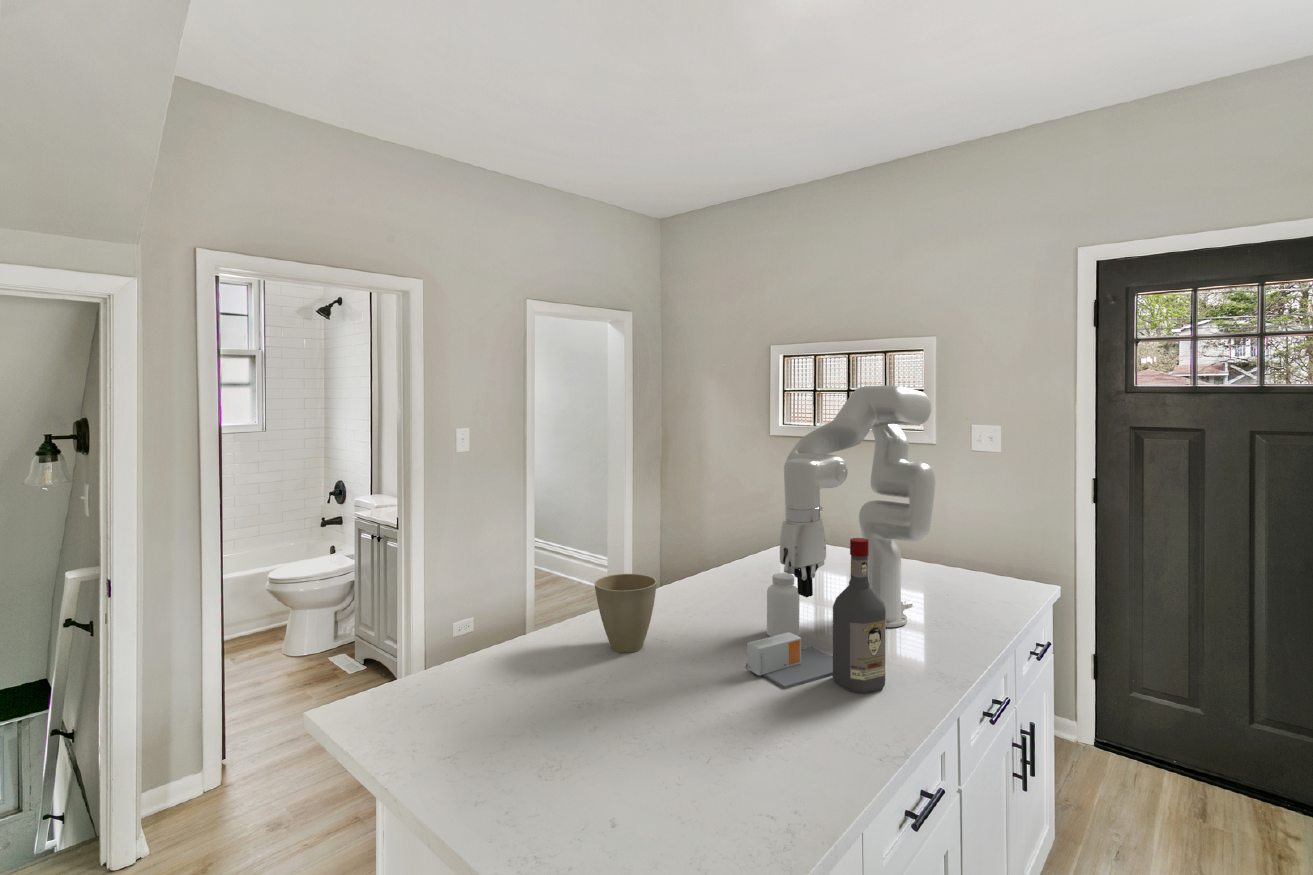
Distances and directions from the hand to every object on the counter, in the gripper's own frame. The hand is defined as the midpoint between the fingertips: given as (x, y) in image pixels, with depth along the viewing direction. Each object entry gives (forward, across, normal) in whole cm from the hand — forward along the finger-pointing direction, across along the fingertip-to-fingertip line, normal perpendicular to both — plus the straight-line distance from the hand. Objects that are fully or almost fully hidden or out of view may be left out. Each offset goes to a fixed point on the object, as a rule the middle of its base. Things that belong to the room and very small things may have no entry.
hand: (805, 594), depth 143 cm
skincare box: (+11, +3, 0) cm, 12 cm away
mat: (+15, +4, +2) cm, 16 cm away
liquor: (+15, -1, +15) cm, 21 cm away
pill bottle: (+16, -5, -14) cm, 22 cm away
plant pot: (+14, +32, -27) cm, 44 cm away
